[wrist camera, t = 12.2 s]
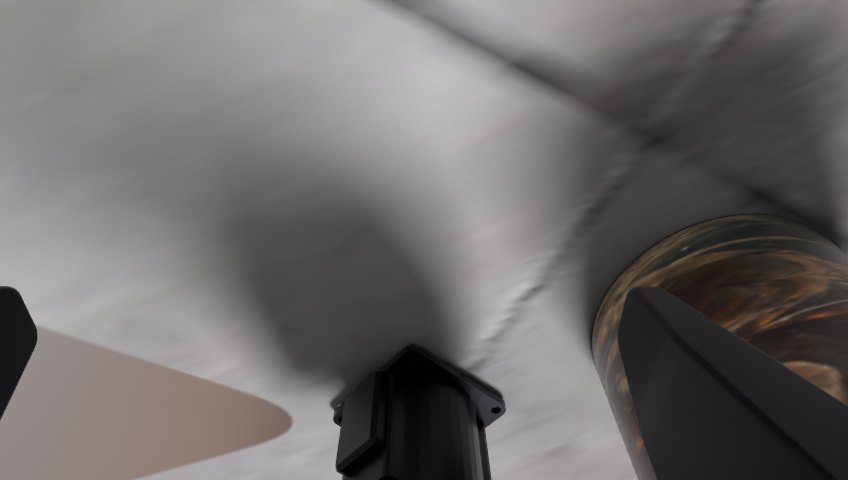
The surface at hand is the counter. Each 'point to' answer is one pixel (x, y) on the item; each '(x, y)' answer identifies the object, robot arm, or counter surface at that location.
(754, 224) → the jar
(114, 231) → the counter surface
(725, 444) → the robot arm
